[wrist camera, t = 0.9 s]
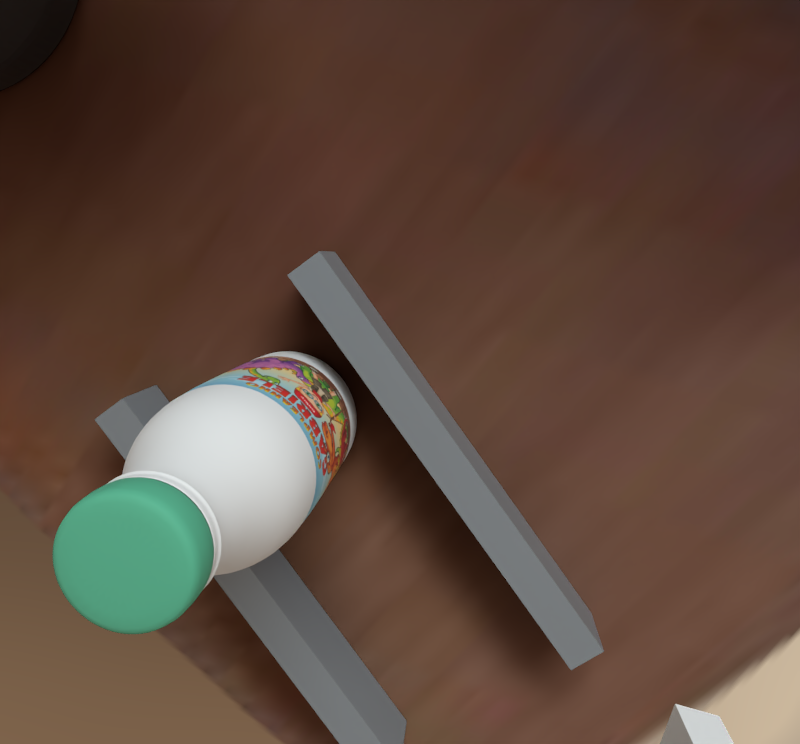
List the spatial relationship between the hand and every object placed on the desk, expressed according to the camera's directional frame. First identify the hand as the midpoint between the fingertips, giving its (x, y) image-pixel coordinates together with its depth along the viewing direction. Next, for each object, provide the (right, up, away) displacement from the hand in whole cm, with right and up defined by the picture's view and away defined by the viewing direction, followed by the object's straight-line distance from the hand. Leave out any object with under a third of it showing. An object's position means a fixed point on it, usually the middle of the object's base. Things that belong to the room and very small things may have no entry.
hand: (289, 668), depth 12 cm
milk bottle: (-4, +3, +28) cm, 29 cm away
